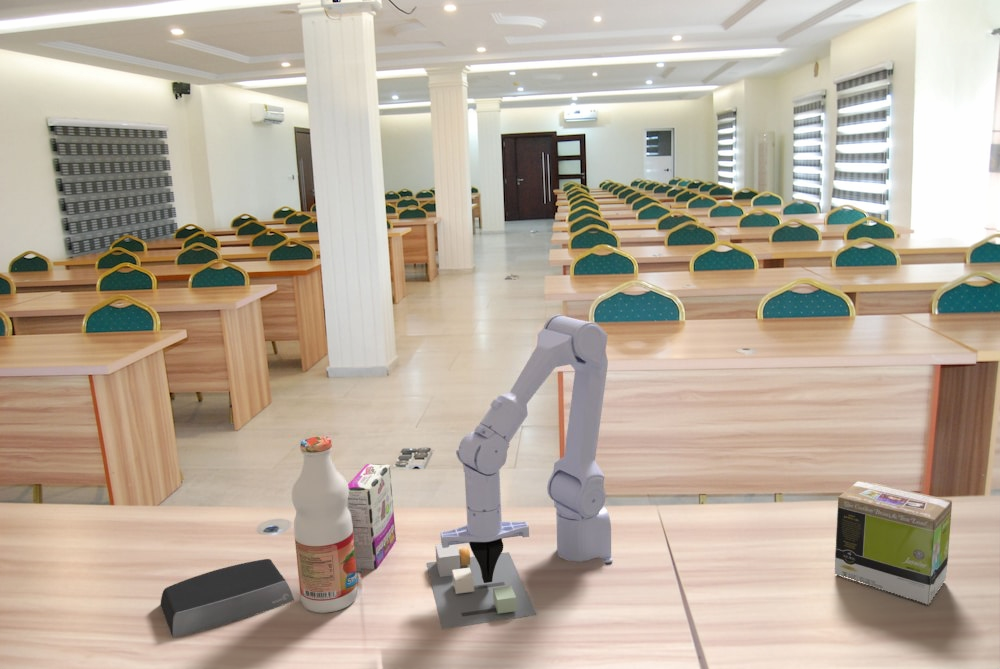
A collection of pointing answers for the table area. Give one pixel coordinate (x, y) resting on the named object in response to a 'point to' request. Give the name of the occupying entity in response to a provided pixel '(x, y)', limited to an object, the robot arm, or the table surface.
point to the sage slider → (504, 599)
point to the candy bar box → (372, 515)
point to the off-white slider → (463, 580)
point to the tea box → (893, 539)
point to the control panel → (480, 601)
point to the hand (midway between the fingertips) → (487, 579)
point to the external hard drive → (223, 596)
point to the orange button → (464, 556)
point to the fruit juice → (323, 531)
